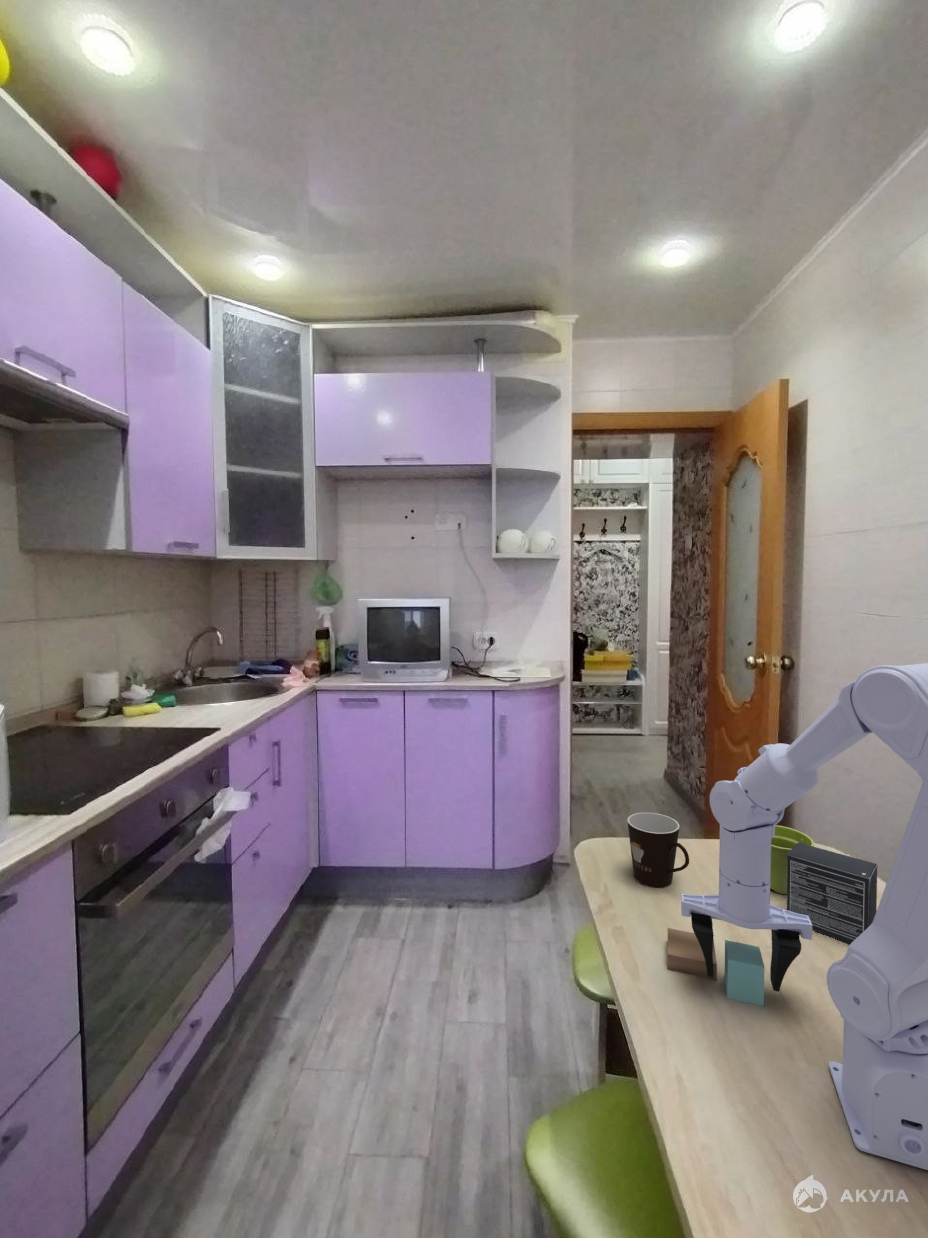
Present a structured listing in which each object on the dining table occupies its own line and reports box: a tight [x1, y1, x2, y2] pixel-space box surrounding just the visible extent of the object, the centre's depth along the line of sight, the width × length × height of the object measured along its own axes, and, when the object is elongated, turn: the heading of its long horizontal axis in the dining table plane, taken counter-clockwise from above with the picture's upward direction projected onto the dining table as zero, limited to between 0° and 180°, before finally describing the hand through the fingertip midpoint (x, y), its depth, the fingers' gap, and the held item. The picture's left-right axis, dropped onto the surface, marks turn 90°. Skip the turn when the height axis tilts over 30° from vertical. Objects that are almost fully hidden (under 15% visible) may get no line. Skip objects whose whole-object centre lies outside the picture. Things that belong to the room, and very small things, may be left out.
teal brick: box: [723, 939, 765, 1007], centre depth 69 cm, size 4×4×5 cm
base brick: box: [667, 927, 718, 980], centre depth 75 cm, size 6×6×2 cm
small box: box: [786, 843, 878, 945], centre depth 81 cm, size 11×6×10 cm, turn 45°
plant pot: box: [770, 824, 815, 895], centre depth 92 cm, size 9×9×9 cm
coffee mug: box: [627, 811, 690, 889], centre depth 94 cm, size 12×9×10 cm
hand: (742, 978), depth 69 cm, fingers open, 7 cm apart
